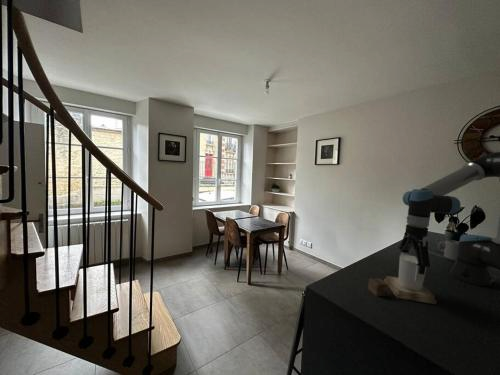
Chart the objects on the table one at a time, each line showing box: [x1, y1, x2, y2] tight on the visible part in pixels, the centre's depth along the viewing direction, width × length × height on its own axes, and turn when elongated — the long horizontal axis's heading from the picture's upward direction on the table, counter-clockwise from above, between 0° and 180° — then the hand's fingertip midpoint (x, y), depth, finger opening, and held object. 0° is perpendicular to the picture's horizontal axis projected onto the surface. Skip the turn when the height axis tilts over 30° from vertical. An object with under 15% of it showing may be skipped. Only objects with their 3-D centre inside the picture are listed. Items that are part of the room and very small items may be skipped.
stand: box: [383, 275, 437, 305], centre depth 96 cm, size 14×14×3 cm
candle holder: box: [397, 254, 428, 291], centre depth 95 cm, size 10×10×12 cm
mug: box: [437, 239, 460, 261], centre depth 143 cm, size 12×8×11 cm
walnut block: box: [367, 277, 389, 297], centre depth 94 cm, size 5×5×5 cm
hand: (410, 273), depth 96 cm, fingers open, 13 cm apart
